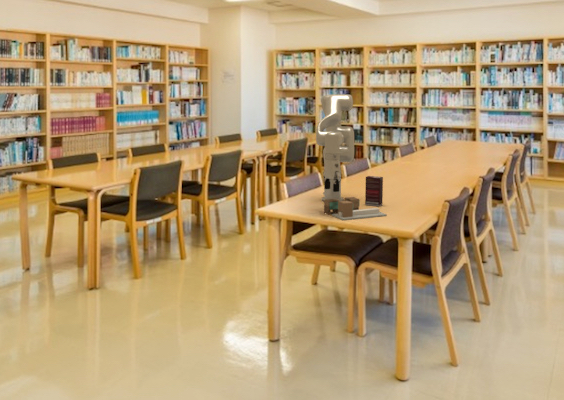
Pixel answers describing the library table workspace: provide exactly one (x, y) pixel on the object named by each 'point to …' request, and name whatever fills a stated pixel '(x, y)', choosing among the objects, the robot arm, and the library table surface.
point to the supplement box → (374, 191)
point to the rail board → (355, 212)
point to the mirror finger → (354, 201)
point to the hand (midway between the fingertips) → (331, 190)
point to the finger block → (330, 206)
